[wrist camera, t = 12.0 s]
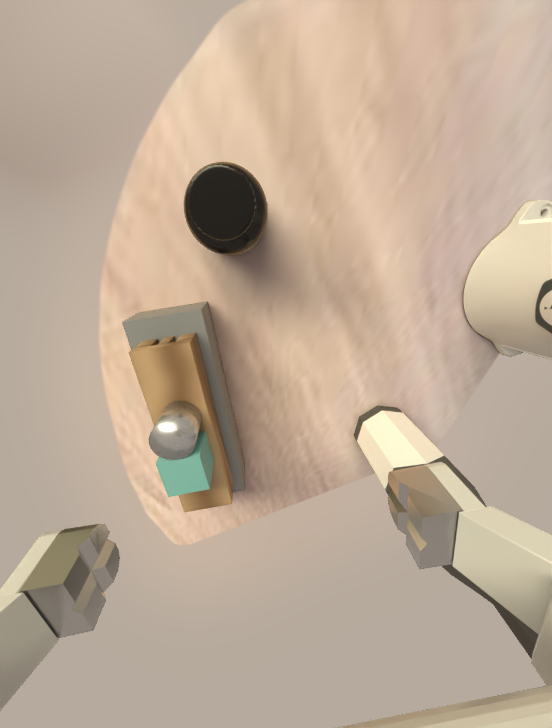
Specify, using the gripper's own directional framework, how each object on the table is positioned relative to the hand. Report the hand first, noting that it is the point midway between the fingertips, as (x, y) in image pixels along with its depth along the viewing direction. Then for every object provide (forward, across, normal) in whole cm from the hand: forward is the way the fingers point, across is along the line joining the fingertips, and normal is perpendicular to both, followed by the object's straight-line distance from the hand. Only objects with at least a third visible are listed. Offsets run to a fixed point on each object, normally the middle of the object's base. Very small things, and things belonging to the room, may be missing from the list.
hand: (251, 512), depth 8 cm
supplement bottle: (+29, 0, -10) cm, 31 cm away
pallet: (+24, +9, +10) cm, 27 cm away
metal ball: (+20, +8, +8) cm, 23 cm away
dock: (+29, +9, +10) cm, 32 cm away
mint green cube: (+20, +8, +12) cm, 25 cm away
